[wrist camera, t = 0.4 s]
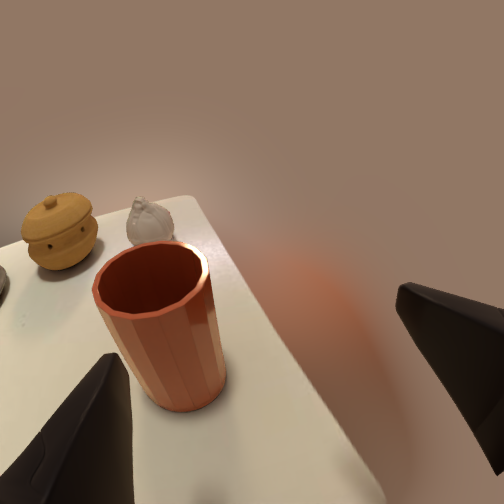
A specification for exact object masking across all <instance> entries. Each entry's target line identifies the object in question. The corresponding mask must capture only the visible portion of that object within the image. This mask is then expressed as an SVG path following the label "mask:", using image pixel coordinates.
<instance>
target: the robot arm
mask: <svg viewBox="0 0 504 504" xmlns="http://www.w3.org/2000/svg"><path fill="white" fill-rule="evenodd" d="M396 311H397V313H398V315H399V316H400V318H401V320H402V322H403V324H404V325H405V327H406V329H407V330H408V332H409V334H410V336H411V337H412V339H413V341H414V342H415V344H416V346H417V347H418V349H419V350H420V352H421V353H422V355H423V356H424V357H425V359H426V360H427V362H428V363H429V365H430V366H431V368H432V369H433V371H434V372H435V374H436V375H437V377H438V378H439V380H440V381H441V383H442V384H443V385H444V387H445V388H446V390H447V392H448V393H449V395H450V396H451V398H452V400H453V401H454V403H455V404H456V406H457V407H458V409H459V411H460V412H461V414H462V416H463V417H464V419H465V421H466V422H467V424H468V425H469V427H470V429H471V431H472V432H473V433H474V436H475V438H476V439H477V441H478V443H479V445H480V446H481V448H482V450H483V452H484V454H485V456H486V457H487V459H488V461H489V463H490V465H491V467H492V469H493V471H494V472H495V474H496V475H497V476H498V475H499V474H501V473H502V472H503V471H504V309H501V308H497V307H494V306H491V305H487V304H484V303H481V302H477V301H474V300H470V299H467V298H463V297H460V296H457V295H453V294H450V293H446V292H443V291H440V290H436V289H433V288H429V287H426V286H422V285H418V284H415V283H412V282H408V283H405V284H402V285H400V286H399V288H398V293H397V299H396ZM132 430H133V426H132V410H131V397H130V382H129V375H128V372H127V370H126V368H125V366H124V364H123V362H122V361H121V359H120V357H119V355H118V354H117V353H108V354H104V355H103V356H102V357H101V358H100V359H99V360H98V361H97V363H96V364H95V365H94V366H93V367H92V368H91V370H90V371H89V372H88V373H87V374H86V375H85V377H84V378H83V379H82V380H81V381H80V382H79V384H78V385H77V386H76V387H75V388H74V390H73V391H72V392H71V393H70V394H69V396H68V397H67V398H66V399H65V400H64V402H63V403H62V404H61V405H60V406H59V408H58V409H57V410H56V411H55V413H54V414H53V415H52V416H51V418H50V419H49V420H48V421H47V423H46V424H45V425H44V426H43V428H42V429H41V432H39V433H38V434H37V435H36V436H35V438H34V439H33V440H32V441H31V443H30V444H29V445H28V446H27V447H26V449H25V450H24V451H23V452H22V453H21V455H20V456H19V457H18V458H17V459H16V460H15V461H14V462H13V463H12V465H11V466H10V467H9V468H8V469H7V470H6V471H5V472H4V473H3V474H2V475H1V476H0V504H135V502H134V486H133V455H132Z"/></svg>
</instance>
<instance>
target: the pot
mask: <svg viewBox="0 0 504 504" xmlns="http://www.w3.org/2000/svg"><path fill="white" fill-rule="evenodd" d="M92 209H93V208H92V205H91V202H90V201H89V200H88V199H87V198H85V197H84V196H82V195H80V194H77V193H63V194H59V195H56V196H52V195H51V196H48V197H46V198H45V200H44V201H42V202H41V203H39V204H38V205H36V206H35V207H34V208H32V209H31V210H30V211H29V212H28V214H27V215H26V217H25V219H24V222H23V224H22V229H21V234H22V238H23V240H24V241H25V242H26V243H29V247H28V253H29V256H30V257H31V259H32V260H33V261H34V262H36V263H37V264H38V265H40V266H41V267H44V268H46V269H49V270H62V269H65V268H68V267H71V266H73V265H75V264H77V263H78V262H80V261H81V260H83V259H84V258H85V257H86V256H87V255H88V254H89V252H90V251H91V250H92V248H93V246H94V244H95V241H96V237H97V231H98V224H97V221H96V219H95V218H94V217H92V216H91V213H92Z"/></svg>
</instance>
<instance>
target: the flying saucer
mask: <svg viewBox="0 0 504 504" xmlns="http://www.w3.org/2000/svg"><path fill="white" fill-rule="evenodd" d="M5 282H6V271H5V269H4V268H3V267H1V266H0V294H1V292H2V290H3V287H4V285H5Z"/></svg>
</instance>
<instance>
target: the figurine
mask: <svg viewBox="0 0 504 504" xmlns="http://www.w3.org/2000/svg"><path fill="white" fill-rule="evenodd" d="M126 231H127V237H128V239H129V241H130V242H131V243H132V244H133V245H134V246H137V245H140V244H143V243H149V242H155V241H162V240H163V241H170V240H171V237H172V235H173V232H174V223H173V220H172V217H171V215H170V212H168V210H167V209H165V208H164V207H162V206H160V205H158V204H156V203H149V202H148V201H147V200H146V199H145V198H143V197H141V196H139V197H136V198H135V200H134V201H133V205H132V209H131V211H130V214H129V218H128V220H127V224H126Z"/></svg>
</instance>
